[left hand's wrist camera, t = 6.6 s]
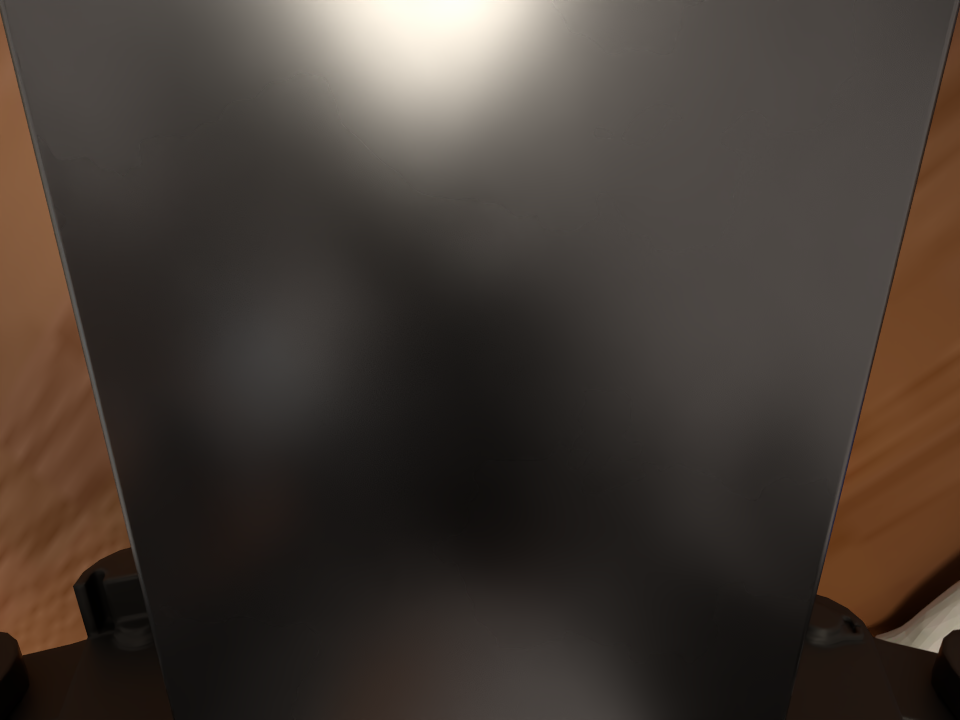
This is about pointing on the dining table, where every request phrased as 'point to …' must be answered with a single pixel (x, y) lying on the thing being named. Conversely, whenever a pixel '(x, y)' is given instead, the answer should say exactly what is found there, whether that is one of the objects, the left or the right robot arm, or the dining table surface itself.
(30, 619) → the dining table surface
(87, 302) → the bar
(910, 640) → the tape dispenser
